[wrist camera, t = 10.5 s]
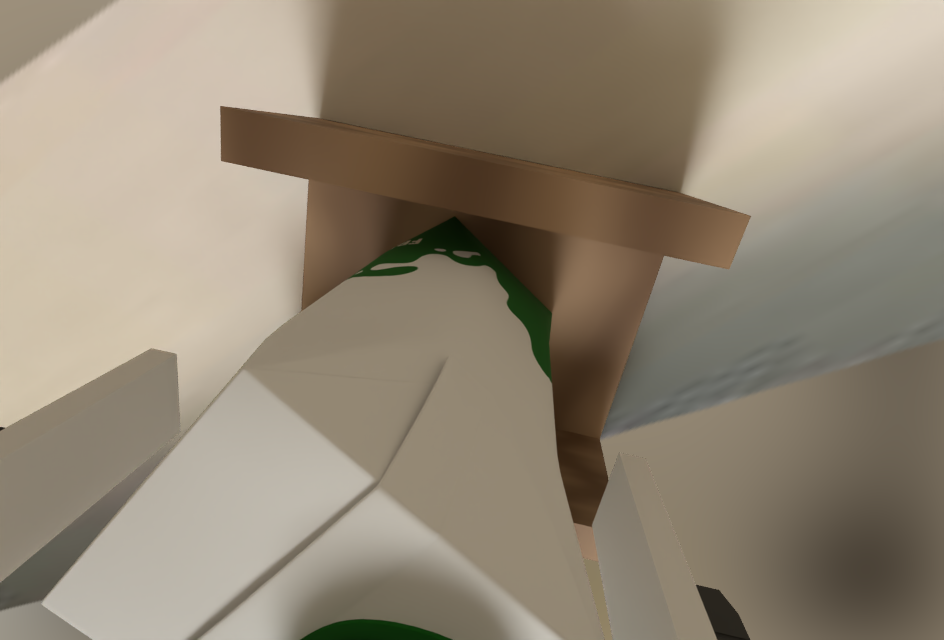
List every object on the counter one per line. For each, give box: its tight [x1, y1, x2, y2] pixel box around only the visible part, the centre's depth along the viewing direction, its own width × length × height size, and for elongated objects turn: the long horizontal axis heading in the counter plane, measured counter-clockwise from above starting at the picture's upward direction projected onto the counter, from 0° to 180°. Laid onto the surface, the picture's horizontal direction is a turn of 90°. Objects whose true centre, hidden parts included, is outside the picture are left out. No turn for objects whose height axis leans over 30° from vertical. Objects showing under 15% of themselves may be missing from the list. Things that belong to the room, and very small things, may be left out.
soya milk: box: [41, 216, 605, 640], centre depth 16 cm, size 9×9×20 cm
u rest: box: [220, 106, 751, 562], centre depth 22 cm, size 18×16×8 cm
